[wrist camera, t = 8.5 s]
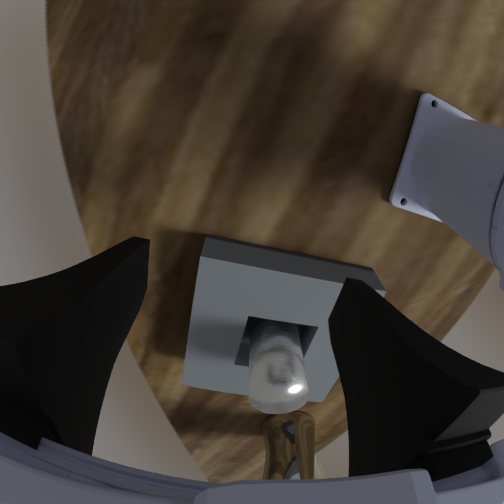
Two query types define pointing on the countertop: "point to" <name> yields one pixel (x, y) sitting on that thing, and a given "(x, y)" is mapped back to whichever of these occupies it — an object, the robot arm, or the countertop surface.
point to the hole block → (262, 311)
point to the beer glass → (290, 447)
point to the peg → (276, 367)
